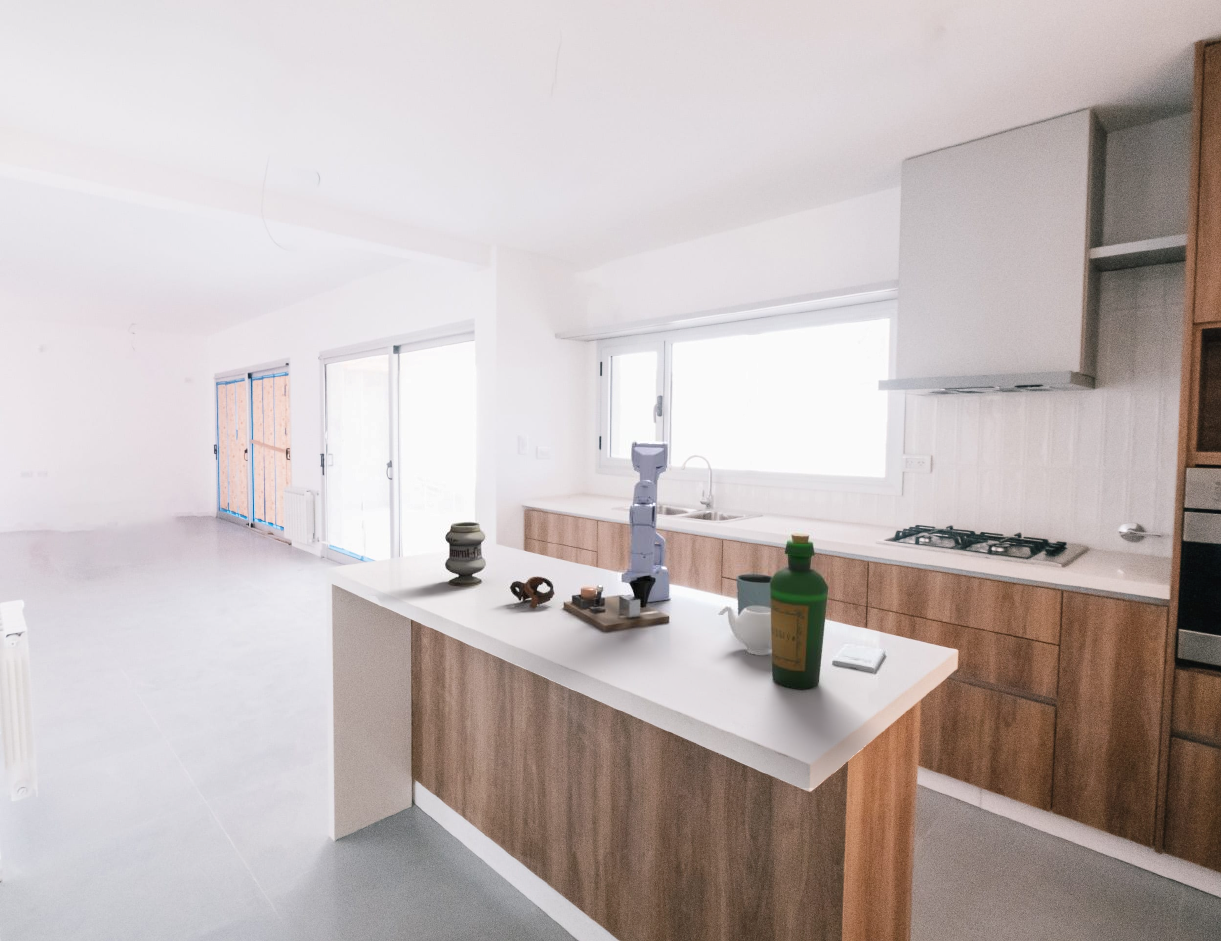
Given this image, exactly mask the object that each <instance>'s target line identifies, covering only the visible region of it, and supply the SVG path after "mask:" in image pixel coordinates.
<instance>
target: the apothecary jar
mask: <svg viewBox="0 0 1221 941" xmlns="http://www.w3.org/2000/svg"><path fill="white" fill-rule="evenodd" d="M444 538H445V541H446V542H447V543H448V544H449V545H448V546H449V548H448V549H449V552H448V554H449V556H448V558H447V559H446V560H445V563H444V566H445V569H446V570H447V571H449V572H450V573H452V574H455V575H458V576H455V577H454V578H451V579H449V580H448V584H449V585H451V586H460V587H472V586H477V585H479V584H482V582H483V580H482V579H481V578H478V577H477V576H475V574H478V573H479V572H481V571H483V570H484V569H485V567H486V565H487V564H486V563H487V562H486V559H485V558H484V557H483V555H482V543H483V542H484V541H485V539H486V534H485V532H484V531H483V530H481V527H480V523H479V522H471V521H464V522H463V521H461V522H454V523H452V524H451V526H450V529H449V531H448V532H447V533H446V534H445V537H444Z"/></svg>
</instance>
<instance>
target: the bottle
mask: <svg viewBox="0 0 1221 941" xmlns="http://www.w3.org/2000/svg"><path fill="white" fill-rule="evenodd" d="M784 554H786V555H787V566H785V567H783V568H781V569H779V570H778V571H776V572H775V573H774V575H772V578H771V580H770V605H771V644H772V649H771V665H772V666H771V674H772V675H771V676H772V680H774V681H775V682H776V683H778V684H780V685H781V686H784V687H787V688H790V689H799V690H803V689H805V690H806V689H810V688H814V687H816V686H817V685H818V684H819V683H820V677H821V676H820V675H821V666H822V664H821V663H822V656H823V644H824V637H825V636H824V634H825V623H826V614H827V604H828V594H829V593H828V592H829V585H828V583H827V582H826V581H825V579H824V577H823V575H821V574H820V573H819V572H818V571H816V570H815V569H814V568H811V564H812V557H814V556H815V555H816V553H815V548H814V542H813V541H811V540H810V535H809V534H806V533H791V539H788V540H787V542H786V544H785V550H784Z"/></svg>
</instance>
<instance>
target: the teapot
mask: <svg viewBox="0 0 1221 941" xmlns="http://www.w3.org/2000/svg"><path fill="white" fill-rule="evenodd" d="M726 613H727V618H728V623H729V624H728V625H729V627H730V629H731V632H732V634H733V635H734V637H735V638H736V639H737V640H738V641H739V643H741V644H743V645H744V646H745V647H746V652H747V653H749V654H750V653H751V655H753V654H755V655H754V656H767V655H766V654H768V655H769V654H770V650H772V644H771V608H768V607H764V606H748V607H746V608H744V609H743V610H742V612H741V613H740V615H739V616H738V615H736V614H735V612H734V610H733V608H732V607H731V606H730V605H727V606H725V607H724V608H723V609H722V610H720V611H719V612H718V615H719V616H720V615H721V616H723V615H724V614H726Z"/></svg>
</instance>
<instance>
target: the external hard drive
mask: <svg viewBox="0 0 1221 941" xmlns="http://www.w3.org/2000/svg"><path fill="white" fill-rule="evenodd" d="M885 656H886V650H884V649H881V648H875V647H869V646H863V645H858V644H852V643H846V644H844V645H843V646H842V648H841V649H840V651H839V652H838V653H837V654H836V655H835V657H834V658H833V659H832V663H831V664H832V665H834V666H839V667H844V668H849V669H855V670H860V671H863V672H870V673H874V674H875V673H876V671H877V670H878V667H879V666H880V664H881V662H882V661H883V659H884V658H885Z"/></svg>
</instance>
